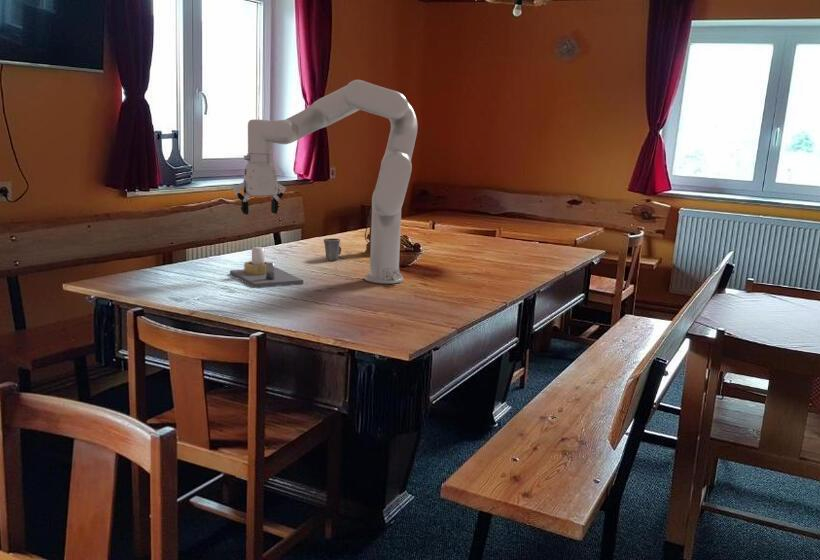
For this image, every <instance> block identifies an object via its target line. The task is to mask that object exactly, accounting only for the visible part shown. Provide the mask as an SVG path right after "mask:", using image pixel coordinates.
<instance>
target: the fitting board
mask: <svg viewBox="0 0 820 560" xmlns="http://www.w3.org/2000/svg"><path fill="white" fill-rule="evenodd" d="M229 275H231V276H233V277H235V278H236V277H237V279H238V278H239V279H238V280H240V279H241V280H240V281H242V280H243V281H242V282H244V283H245V282H246V284H247V283H248V284H247V285H249V284H250V285H249V286H251V285H252V286H251V287H253V286H254V287H257V288H264V287H263V286H269V287H277V286H276V285H282V286H290V284H295V285H303V284H304V279H302V278H300V277H298V276H295V275H293V274H291V273H289V272H287V271H285V270H282V269H280V268H278V267H276V266H275V277H274V280H267V279H266V274H265V275H250V274H246V273H244V269H233V270H229ZM261 286H262V287H261ZM254 287H253V288H254Z"/></svg>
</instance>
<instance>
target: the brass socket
mask: <svg viewBox="0 0 820 560" xmlns="http://www.w3.org/2000/svg"><path fill="white" fill-rule="evenodd" d="M266 263H269V261H264V265H252V260H251V261H246V262H244V263H243V267H244V268H243V270H244V273H246V274H250V275H265V274H266Z"/></svg>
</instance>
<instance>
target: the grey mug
mask: <svg viewBox="0 0 820 560" xmlns="http://www.w3.org/2000/svg"><path fill="white" fill-rule="evenodd" d="M340 241H341V238H324V239H323V243H324V250H325V258H326V260H327V261H329V262H334V261H337V260H338V259H339V255H341V253H342V246H340V243H341V242H340Z"/></svg>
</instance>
